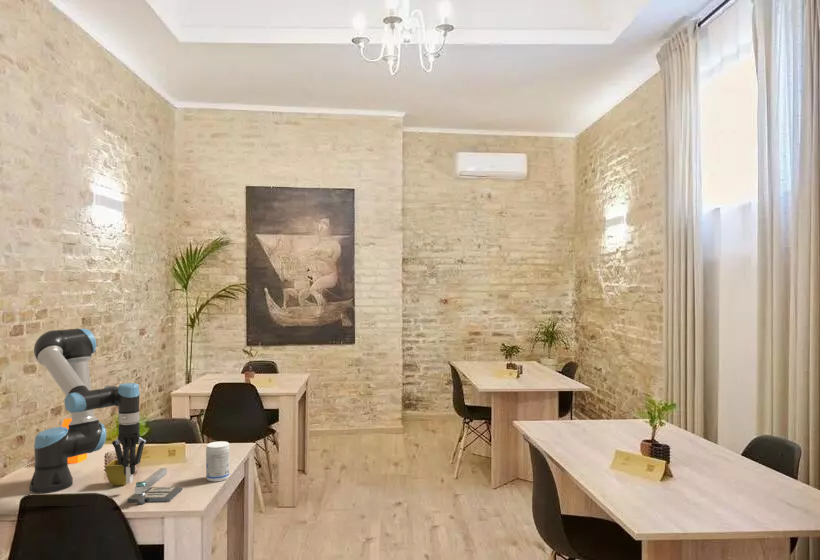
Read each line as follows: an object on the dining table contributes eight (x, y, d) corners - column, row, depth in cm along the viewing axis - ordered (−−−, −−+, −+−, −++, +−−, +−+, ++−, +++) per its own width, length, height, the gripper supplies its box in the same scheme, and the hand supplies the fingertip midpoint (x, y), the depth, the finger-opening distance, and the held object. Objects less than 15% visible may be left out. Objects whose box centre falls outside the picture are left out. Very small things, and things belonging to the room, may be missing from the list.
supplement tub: (205, 476, 253) (205, 442, 253) (228, 473, 257) (228, 440, 257) (207, 483, 244) (207, 448, 244) (231, 480, 248) (230, 445, 248)
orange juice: (69, 458, 283) (69, 416, 284) (87, 458, 283) (87, 416, 283) (59, 463, 276) (58, 420, 276) (77, 463, 275) (77, 420, 275)
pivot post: (135, 504, 221) (135, 494, 221) (139, 502, 224) (139, 491, 224) (143, 504, 221) (143, 494, 221) (146, 502, 224) (146, 491, 224)
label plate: (127, 502, 224) (127, 498, 224) (142, 490, 237) (142, 486, 237) (169, 501, 224) (169, 497, 224) (182, 489, 237) (182, 486, 237)
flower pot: (114, 480, 250) (114, 459, 250) (135, 480, 250) (135, 458, 250) (105, 487, 241) (105, 465, 241) (127, 487, 241) (127, 465, 241)
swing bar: (143, 493, 220) (142, 485, 220) (133, 494, 220) (133, 485, 220) (168, 474, 243) (168, 466, 243) (159, 474, 243) (159, 466, 243)
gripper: (107, 425, 230) (108, 485, 230) (141, 424, 230) (141, 485, 230) (117, 420, 237) (117, 479, 237) (149, 420, 237) (150, 479, 237)
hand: (129, 482), depth 233 cm, fingers closed
